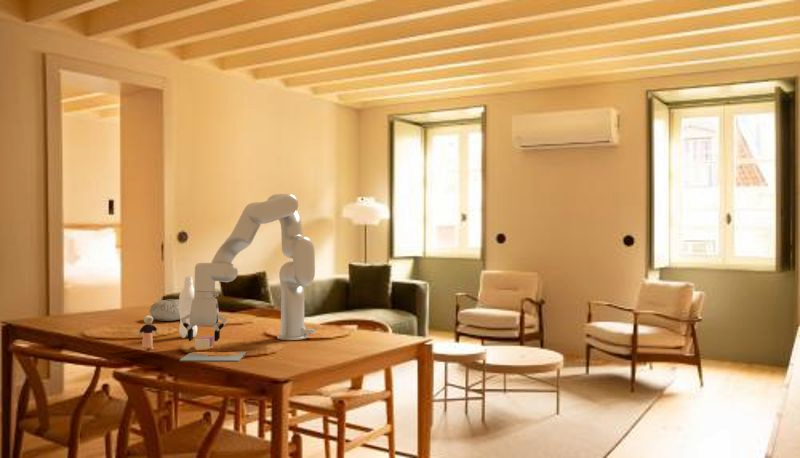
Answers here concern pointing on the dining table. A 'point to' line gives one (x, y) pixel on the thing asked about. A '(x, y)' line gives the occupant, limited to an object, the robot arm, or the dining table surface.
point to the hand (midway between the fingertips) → (203, 340)
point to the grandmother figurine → (147, 333)
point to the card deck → (204, 341)
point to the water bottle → (186, 306)
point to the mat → (212, 357)
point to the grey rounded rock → (166, 310)
